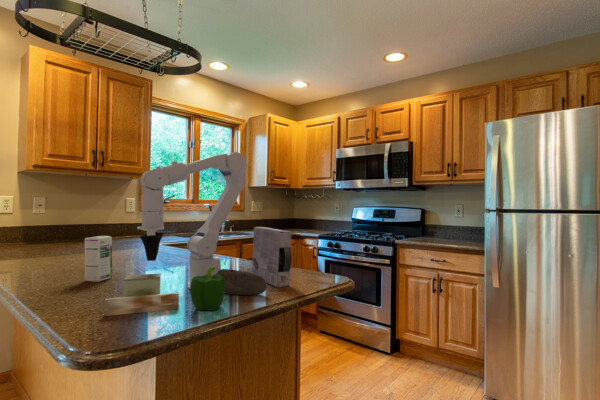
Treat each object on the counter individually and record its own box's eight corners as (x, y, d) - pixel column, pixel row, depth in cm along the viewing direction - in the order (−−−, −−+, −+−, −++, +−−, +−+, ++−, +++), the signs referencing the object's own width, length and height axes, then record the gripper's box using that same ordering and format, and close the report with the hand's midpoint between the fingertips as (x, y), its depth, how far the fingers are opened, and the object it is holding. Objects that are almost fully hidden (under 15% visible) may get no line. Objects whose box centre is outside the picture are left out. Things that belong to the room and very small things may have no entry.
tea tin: (123, 304, 82) (124, 279, 82) (126, 299, 87) (126, 275, 87) (159, 300, 85) (159, 277, 85) (160, 296, 89) (160, 273, 89)
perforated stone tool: (269, 294, 97) (269, 270, 97) (263, 299, 92) (263, 273, 92) (222, 290, 101) (222, 267, 101) (213, 295, 95) (213, 270, 95)
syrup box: (99, 281, 110) (99, 237, 110) (84, 281, 111) (84, 237, 111) (112, 278, 116) (112, 235, 116) (97, 277, 117) (98, 235, 117)
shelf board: (178, 296, 93) (178, 283, 93) (178, 308, 83) (178, 293, 83) (112, 302, 87) (112, 288, 87) (104, 316, 77) (104, 300, 77)
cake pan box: (292, 286, 105) (293, 230, 105) (279, 288, 102) (279, 230, 102) (263, 275, 121) (264, 226, 121) (251, 277, 118) (251, 226, 118)
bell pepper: (207, 316, 78) (207, 272, 78) (183, 309, 82) (183, 268, 82) (232, 306, 85) (233, 266, 85) (209, 301, 89) (210, 263, 89)
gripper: (139, 210, 103) (139, 255, 103) (134, 212, 89) (134, 263, 89) (164, 210, 105) (164, 254, 105) (163, 212, 92) (163, 261, 92)
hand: (152, 258), depth 97 cm, fingers open, 7 cm apart
